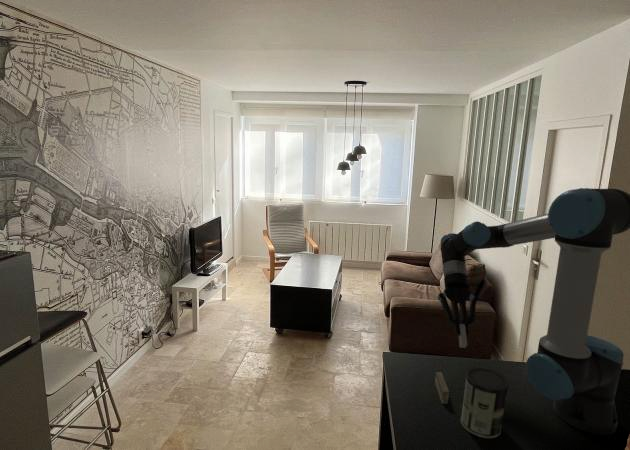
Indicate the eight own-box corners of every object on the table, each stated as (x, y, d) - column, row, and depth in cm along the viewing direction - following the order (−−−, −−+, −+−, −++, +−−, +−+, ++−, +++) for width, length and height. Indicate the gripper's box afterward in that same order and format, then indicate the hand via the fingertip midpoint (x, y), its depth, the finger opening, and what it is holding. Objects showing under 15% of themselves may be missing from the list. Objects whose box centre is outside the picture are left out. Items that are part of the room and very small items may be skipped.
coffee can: (491, 413, 114) (498, 368, 111) (508, 439, 104) (516, 390, 101) (454, 411, 114) (460, 366, 111) (468, 438, 104) (475, 388, 101)
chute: (483, 387, 126) (484, 376, 125) (494, 408, 116) (496, 395, 115) (434, 383, 127) (436, 371, 126) (442, 403, 117) (443, 391, 116)
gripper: (471, 282, 139) (481, 351, 126) (433, 280, 140) (439, 348, 127) (478, 272, 133) (489, 344, 120) (438, 270, 134) (444, 340, 121)
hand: (463, 346), depth 123 cm, fingers closed
